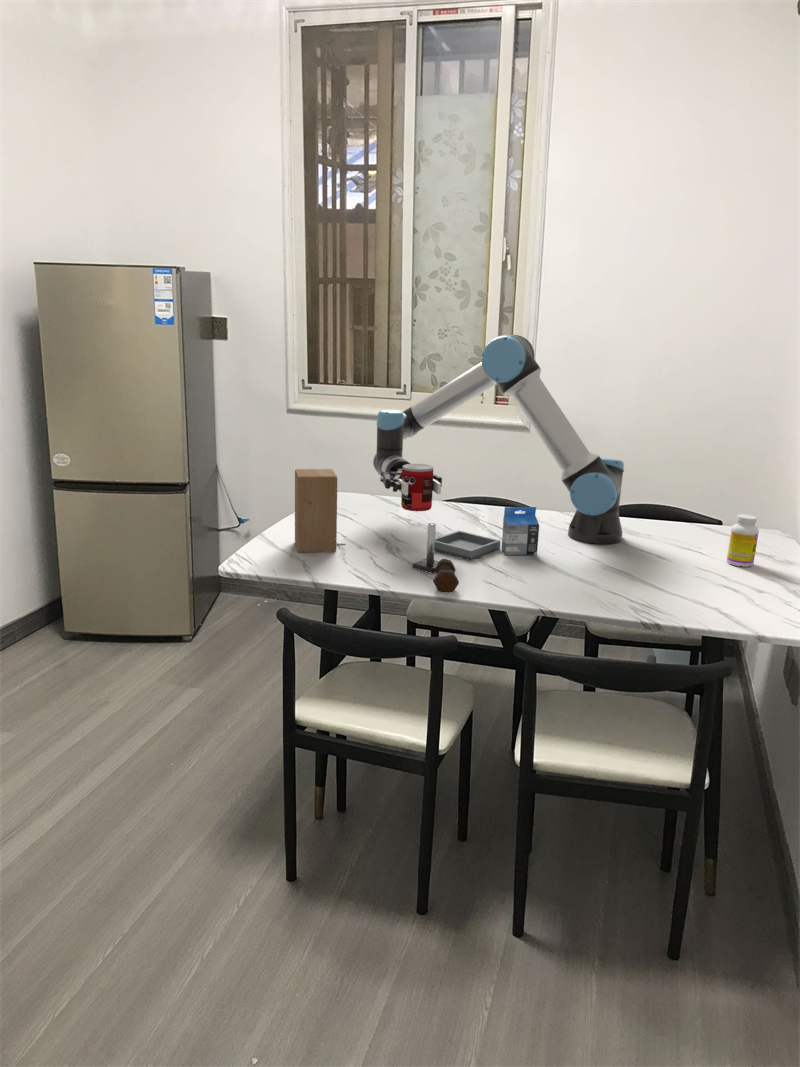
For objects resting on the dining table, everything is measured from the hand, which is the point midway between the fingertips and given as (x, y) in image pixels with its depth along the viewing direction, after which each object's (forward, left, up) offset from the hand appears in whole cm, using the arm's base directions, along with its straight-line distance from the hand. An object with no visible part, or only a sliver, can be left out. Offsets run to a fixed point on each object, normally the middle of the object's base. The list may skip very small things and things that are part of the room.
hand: (423, 489), depth 199 cm
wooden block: (+24, +14, -18) cm, 33 cm away
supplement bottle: (-63, -56, -18) cm, 86 cm away
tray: (-5, -13, -18) cm, 22 cm away
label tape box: (-17, -21, -18) cm, 32 cm away
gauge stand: (-8, +6, -18) cm, 20 cm away
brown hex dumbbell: (-17, +11, -18) cm, 27 cm away
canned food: (+4, -3, -6) cm, 8 cm away
